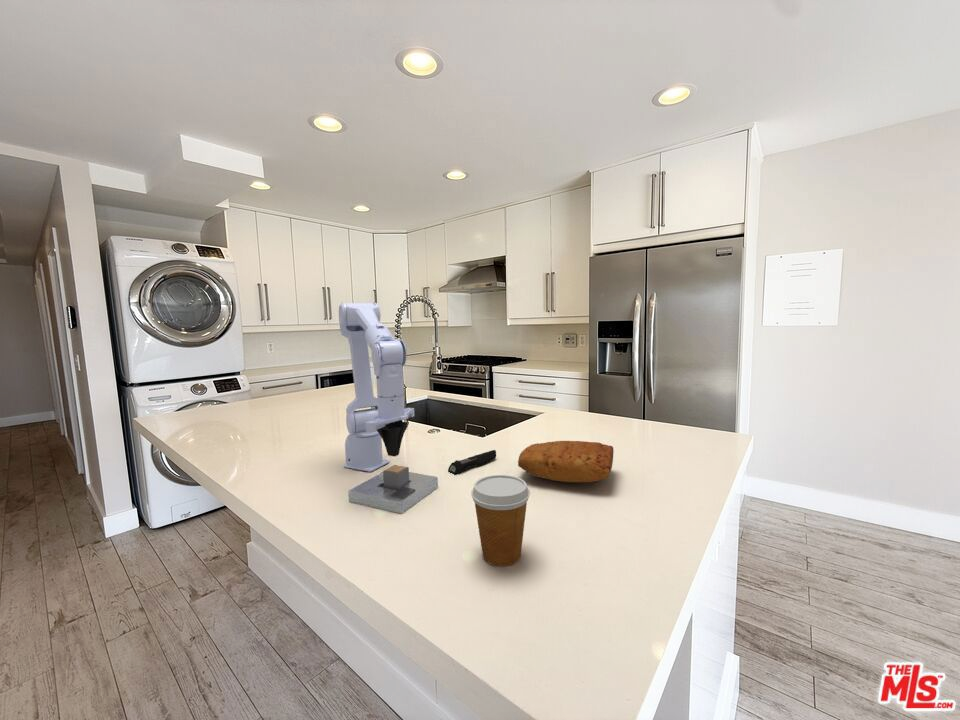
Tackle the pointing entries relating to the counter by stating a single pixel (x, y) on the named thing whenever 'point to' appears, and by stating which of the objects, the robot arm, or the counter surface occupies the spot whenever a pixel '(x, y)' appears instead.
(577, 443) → the baked loaf
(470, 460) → the electric trimmer
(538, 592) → the counter surface
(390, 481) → the plug
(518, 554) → the disposable coffee cup
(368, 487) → the socket plate
